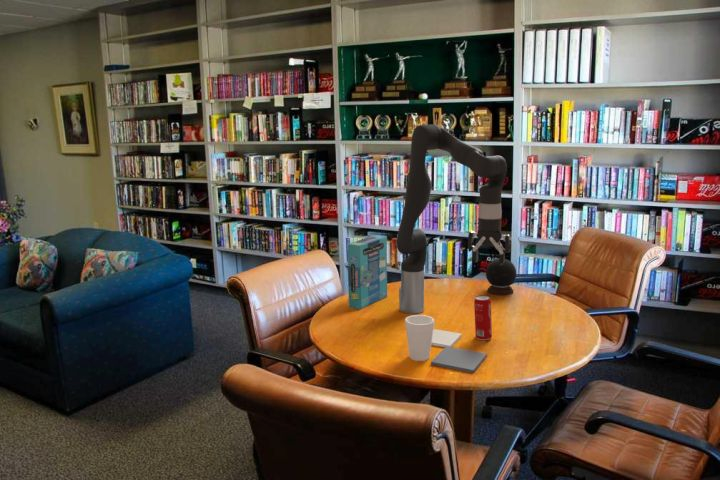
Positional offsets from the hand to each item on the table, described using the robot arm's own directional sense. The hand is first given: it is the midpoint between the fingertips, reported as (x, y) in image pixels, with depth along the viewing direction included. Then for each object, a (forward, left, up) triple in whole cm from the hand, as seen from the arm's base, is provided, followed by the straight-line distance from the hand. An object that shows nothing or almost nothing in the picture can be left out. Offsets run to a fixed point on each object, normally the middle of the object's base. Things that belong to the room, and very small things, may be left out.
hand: (488, 263), depth 200 cm
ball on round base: (-11, +58, -28) cm, 66 cm away
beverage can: (-2, +2, -28) cm, 29 cm away
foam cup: (-16, -23, -28) cm, 40 cm away
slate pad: (-3, -20, -28) cm, 35 cm away
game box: (-57, +20, -28) cm, 67 cm away
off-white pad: (-15, -6, -28) cm, 32 cm away
